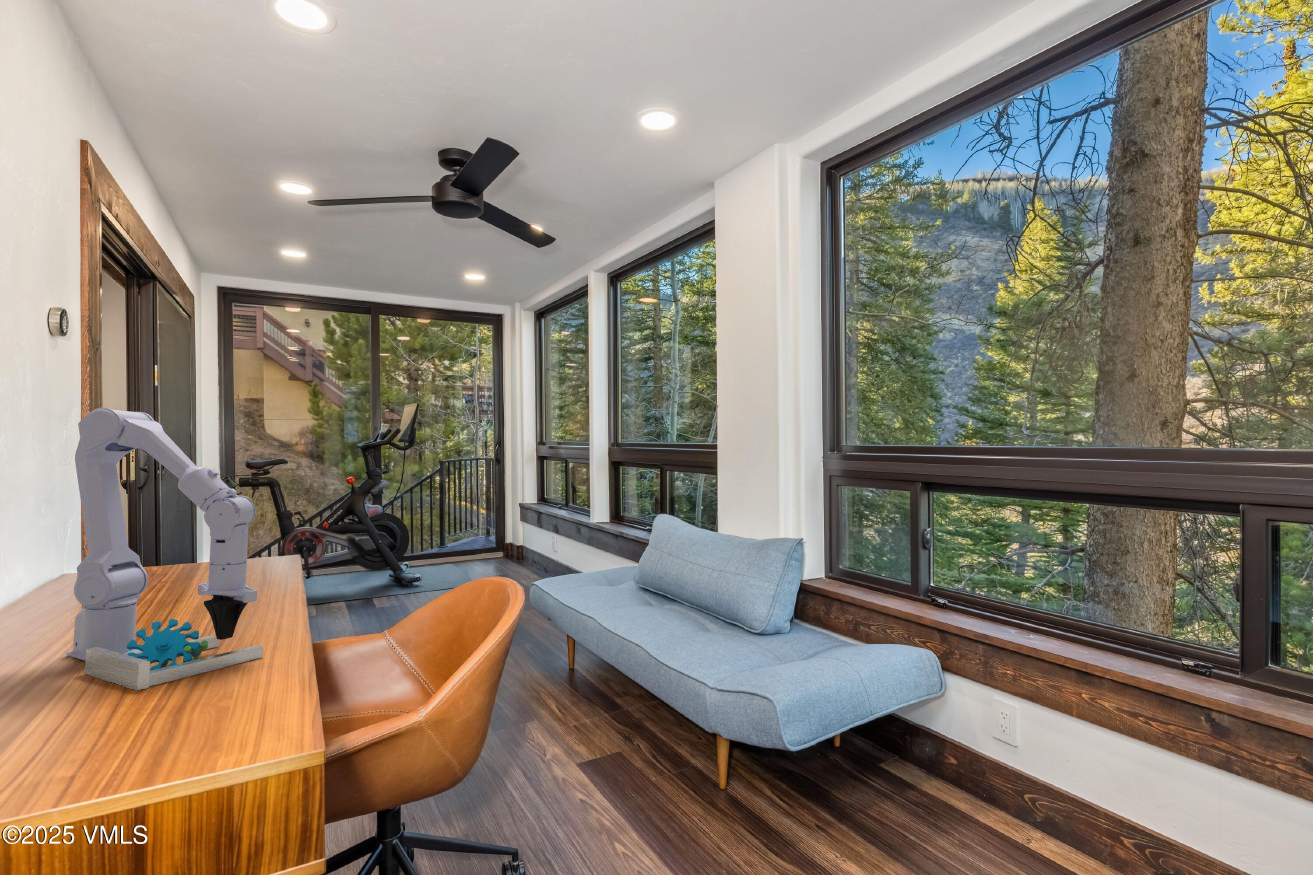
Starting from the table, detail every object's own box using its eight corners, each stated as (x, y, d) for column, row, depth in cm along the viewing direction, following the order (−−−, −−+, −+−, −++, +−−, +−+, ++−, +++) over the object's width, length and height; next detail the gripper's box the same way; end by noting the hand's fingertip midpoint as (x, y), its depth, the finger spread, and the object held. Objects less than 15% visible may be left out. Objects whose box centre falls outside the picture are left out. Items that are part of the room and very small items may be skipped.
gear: (115, 669, 101) (138, 614, 109) (117, 687, 105) (140, 633, 112) (197, 670, 106) (215, 618, 113) (197, 688, 109) (214, 636, 117)
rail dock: (84, 673, 104) (86, 648, 104) (212, 644, 121) (213, 623, 121) (137, 690, 97) (138, 664, 97) (264, 657, 114) (265, 635, 114)
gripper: (181, 562, 116) (177, 637, 115) (229, 569, 110) (225, 649, 109) (221, 557, 122) (218, 629, 122) (269, 563, 116) (266, 639, 115)
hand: (224, 638), depth 116 cm, fingers closed
